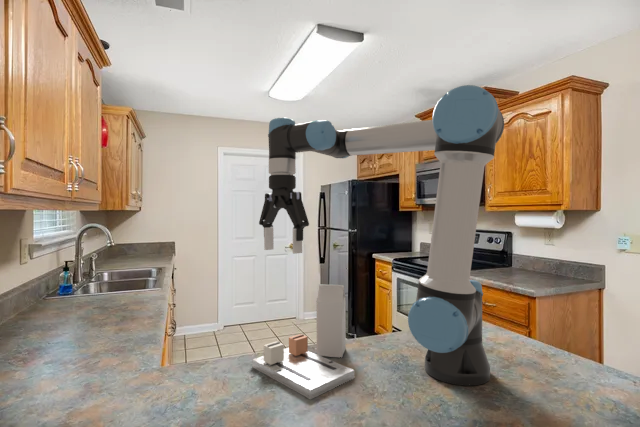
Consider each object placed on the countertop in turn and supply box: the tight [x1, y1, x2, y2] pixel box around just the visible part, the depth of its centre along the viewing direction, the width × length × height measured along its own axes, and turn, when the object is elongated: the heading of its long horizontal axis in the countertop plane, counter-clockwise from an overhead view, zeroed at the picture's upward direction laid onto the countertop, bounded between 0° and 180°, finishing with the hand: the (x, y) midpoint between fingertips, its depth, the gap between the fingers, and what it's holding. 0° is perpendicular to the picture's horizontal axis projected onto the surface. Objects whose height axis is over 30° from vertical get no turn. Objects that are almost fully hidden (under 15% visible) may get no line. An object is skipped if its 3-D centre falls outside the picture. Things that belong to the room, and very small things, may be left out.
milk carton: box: [316, 283, 347, 359], centre depth 102 cm, size 7×7×19 cm
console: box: [251, 347, 355, 400], centre depth 89 cm, size 22×14×2 cm, turn 44°
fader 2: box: [288, 333, 309, 356], centre depth 96 cm, size 3×4×4 cm
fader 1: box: [263, 340, 285, 365], centre depth 91 cm, size 3×4×4 cm
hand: (282, 251), depth 102 cm, fingers open, 12 cm apart
